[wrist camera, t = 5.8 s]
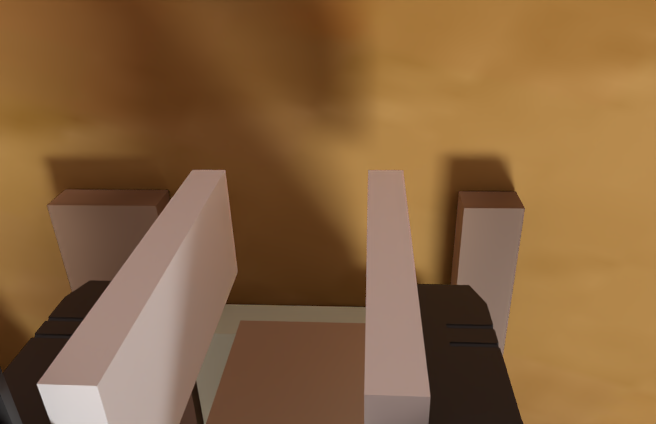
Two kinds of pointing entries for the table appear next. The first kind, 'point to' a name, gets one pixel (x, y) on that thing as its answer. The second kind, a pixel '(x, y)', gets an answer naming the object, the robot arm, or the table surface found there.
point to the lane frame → (146, 205)
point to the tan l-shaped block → (285, 366)
